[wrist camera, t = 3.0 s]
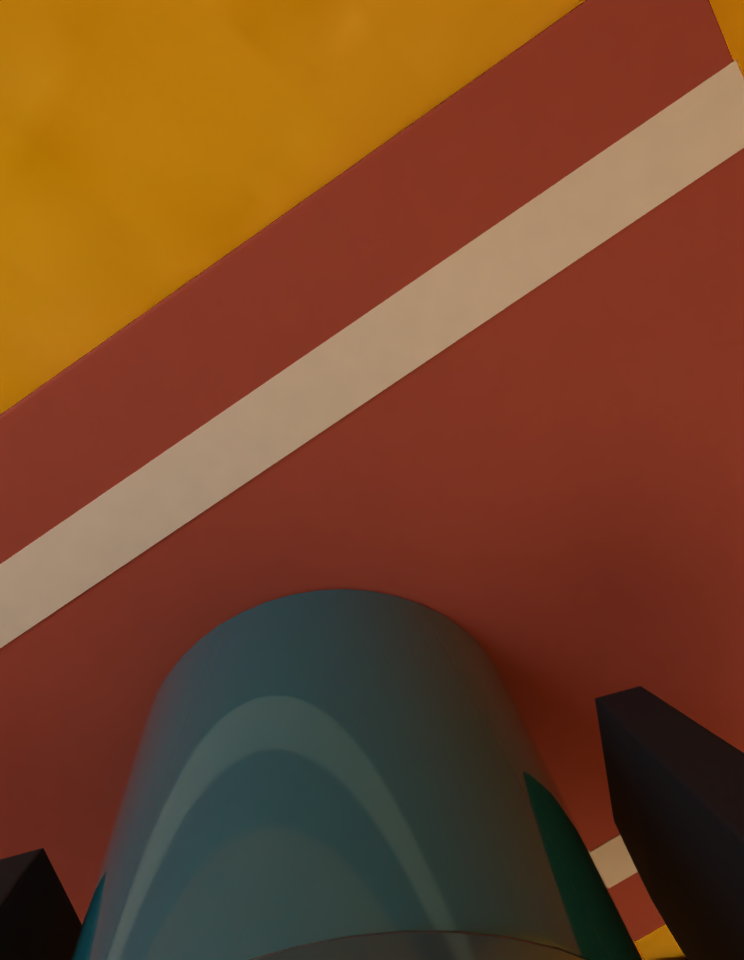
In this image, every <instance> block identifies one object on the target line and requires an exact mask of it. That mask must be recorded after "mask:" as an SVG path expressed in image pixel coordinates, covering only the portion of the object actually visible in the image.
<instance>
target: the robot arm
mask: <svg viewBox="0 0 744 960" xmlns="http://www.w3.org/2000/svg"><path fill="white" fill-rule="evenodd" d="M595 703H596V709H597V716H598V722H599V729H600V735H601V742H602V748H603V755H604V761H605V768H606V774H607V780H608V787H609V793H610V800H611V806H612V813H613V819H614V822H615V825H616V827H617V829H618V831H619V833H620V835H621V837H622V839H623V842H624V844H625V846H626V848H627V850H628V852H629V854H630V857H631V859H632V861H633V863H634V865H635V867H636V869H637V871H638V873H639V875H640V877H641V879H642V881H643V883H644V886H645V888H646V890H647V892H648V894H649V896H650V898H651V900H652V902H653V903H654V905H655V907H656V908H657V910H658V912H659V913H660V915H661V917H662V918H663V920H664V922H665V923H666V925H667V927H668V928H669V930H670V932H671V933H672V935H673V937H674V938H675V940H676V942H677V943H678V945H679V947H680V948H681V950H682V951H683V953H684V955H685V956H686V958H687V960H744V753H743V752H742V751H740V750H739V749H737V748H735V747H734V746H732V745H731V744H729V743H728V742H726V741H725V740H723V739H721V738H720V737H718V736H717V735H715V734H714V733H712V732H711V731H709V730H708V729H706V728H704V727H703V726H701V725H700V724H698V723H697V722H695V721H694V720H692V719H691V718H689V717H688V716H686V715H685V714H683V713H682V712H680V711H679V710H677V709H676V708H674V707H673V706H671V705H669V704H668V703H666V702H665V701H663V700H662V699H660V698H659V697H657V696H656V695H654V694H653V693H651V692H649V691H648V690H646V689H645V688H643V687H641V686H638V687H635V688H631V689H627V690H624V691H620V692H616V693H613V694H609V695H605V696H601V697H598V698H595ZM81 928H82V924H81V922H80V920H79V918H78V916H77V914H76V912H75V910H74V908H73V906H72V904H71V902H70V900H69V898H68V896H67V894H66V892H65V890H64V888H63V886H62V884H61V882H60V880H59V878H58V876H57V874H56V872H55V870H54V868H53V866H52V864H51V862H50V860H49V858H48V856H47V854H46V852H45V850H44V848H41V849H37V850H33V851H30V852H26V853H22V854H19V855H15V856H11V857H7V858H4V859H0V960H72V957H73V954H74V950H75V947H76V944H77V941H78V937H79V934H80V931H81Z"/></svg>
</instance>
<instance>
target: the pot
mask: <svg viewBox="0 0 744 960" xmlns="http://www.w3.org/2000/svg"><path fill="white" fill-rule="evenodd" d="M72 960H644V958H643V956H642V954H641V952H640V950H639V948H638V946H637V944H636V942H635V940H634V938H633V936H632V934H631V932H630V930H629V928H628V926H627V924H626V922H625V920H624V918H623V916H622V914H621V912H620V910H619V908H618V906H617V904H616V902H615V900H614V898H613V896H612V894H611V892H610V890H609V888H608V886H607V884H606V882H605V880H604V878H603V876H602V874H601V872H600V870H599V868H598V866H597V864H596V862H595V860H594V858H593V856H592V854H591V852H590V850H589V848H588V846H587V844H586V842H585V840H584V838H583V836H582V834H581V832H580V830H579V828H578V826H577V824H576V822H575V820H574V818H573V816H572V814H571V812H570V810H569V808H568V806H567V804H566V802H565V800H564V798H563V796H562V794H561V792H560V790H559V788H558V786H557V784H556V782H555V780H554V778H553V776H552V774H551V772H550V770H549V768H548V766H547V764H546V762H545V760H544V758H543V756H542V754H541V752H540V750H539V748H538V746H537V744H536V742H535V740H534V738H533V736H532V734H531V732H530V730H529V728H528V726H527V724H526V722H525V720H524V718H523V716H522V714H521V712H520V710H519V708H518V706H517V704H516V702H515V700H514V698H513V696H512V694H511V692H510V690H509V688H508V686H507V684H506V682H505V680H504V678H503V676H502V674H501V673H500V671H499V669H498V668H497V666H496V664H495V663H494V661H493V659H492V658H491V657H490V656H489V655H488V653H487V652H486V651H485V650H484V648H483V647H482V646H481V645H480V644H479V643H478V642H477V641H476V640H475V639H474V638H473V637H472V636H471V635H470V634H468V633H467V632H466V631H465V630H464V629H463V628H462V627H460V626H459V625H457V624H456V623H454V622H453V621H451V620H450V619H448V618H447V617H445V616H444V615H442V614H440V613H438V612H436V611H434V610H432V609H430V608H428V607H426V606H424V605H422V604H419V603H416V602H413V601H410V600H407V599H404V598H401V597H398V596H394V595H389V594H384V593H379V592H374V591H366V590H354V589H331V590H316V591H310V592H303V593H297V594H292V595H288V596H285V597H281V598H278V599H274V600H271V601H267V602H265V603H262V604H260V605H258V606H255V607H253V608H251V609H248V610H246V611H243V612H241V613H240V614H238V615H236V616H234V617H233V618H231V619H229V620H227V621H226V622H224V623H222V624H220V625H219V626H217V627H216V628H215V629H213V630H212V631H211V632H209V633H208V634H207V635H205V636H204V637H203V638H201V639H200V640H199V641H198V642H197V643H196V644H195V645H194V646H193V647H192V648H190V649H189V650H188V651H187V652H186V653H185V654H184V655H183V656H182V657H181V658H180V660H179V661H178V662H177V663H176V665H175V666H174V667H173V669H172V670H171V671H170V672H169V674H168V675H167V676H166V678H165V679H164V681H163V683H162V685H161V686H160V688H159V690H158V692H157V693H156V695H155V697H154V699H153V702H152V704H151V707H150V710H149V712H148V715H147V717H146V720H145V724H144V727H143V730H142V733H141V737H140V740H139V743H138V746H137V749H136V753H135V756H134V759H133V762H132V766H131V769H130V772H129V775H128V779H127V782H126V785H125V788H124V792H123V795H122V798H121V801H120V805H119V808H118V811H117V814H116V817H115V821H114V824H113V827H112V830H111V834H110V837H109V840H108V843H107V847H106V850H105V853H104V856H103V860H102V863H101V866H100V869H99V873H98V876H97V879H96V882H95V886H94V889H93V892H92V895H91V898H90V902H89V905H88V908H87V911H86V915H85V918H84V921H83V924H82V928H81V931H80V934H79V937H78V941H77V944H76V947H75V950H74V954H73V957H72Z"/></svg>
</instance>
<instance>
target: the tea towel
mask: <svg viewBox="0 0 744 960" xmlns="http://www.w3.org/2000/svg"><path fill="white" fill-rule="evenodd" d="M331 589H354V590H366V591H374V592H379V593H384V594H389V595H394V596H398V597H401V598H404V599H407V600H410V601H413V602H416V603H419V604H422V605H424V606H426V607H428V608H430V609H432V610H434V611H436V612H438V613H440V614H442V615H444V616H445V617H447V618H448V619H450V620H451V621H453V622H454V623H456V624H457V625H459V626H460V627H462V628H463V629H464V630H465V631H466V632H467V633H468V634H470V635H471V636H472V637H473V638H474V639H475V640H476V641H477V642H478V643H479V644H480V645H481V646H482V647H483V648H484V650H485V651H486V652H487V653H488V655H489V656H490V657H491V658H492V659H493V661H494V663H495V664H496V666H497V668H498V669H499V671H500V673H501V674H502V676H503V678H504V680H505V682H506V684H507V686H508V688H509V690H510V692H511V694H512V696H513V698H514V700H515V702H516V704H517V706H518V708H519V710H520V712H521V714H522V716H523V718H524V720H525V722H526V724H527V726H528V728H529V730H530V732H531V734H532V736H533V738H534V740H535V742H536V744H537V746H538V748H539V750H540V752H541V754H542V756H543V758H544V760H545V762H546V764H547V766H548V768H549V770H550V772H551V774H552V776H553V778H554V780H555V782H556V784H557V786H558V788H559V790H560V792H561V794H562V796H563V798H564V800H565V802H566V804H567V806H568V808H569V810H570V812H571V814H572V816H573V818H574V820H575V822H576V824H577V826H578V828H579V830H580V832H581V834H582V836H583V838H584V840H585V842H586V844H587V846H588V848H589V850H590V852H591V854H592V856H593V858H594V860H595V862H596V864H597V866H598V868H599V870H600V872H601V874H602V876H603V878H604V880H605V882H606V884H607V886H608V888H609V890H610V892H611V894H612V896H613V898H614V900H615V902H616V904H617V906H618V908H619V910H620V912H621V914H622V916H623V918H624V920H625V922H626V924H627V926H628V928H629V930H630V932H631V934H632V936H633V938H634V940H635V941H637V940H639V939H640V938H642V937H644V936H646V935H647V934H649V933H651V932H652V931H654V930H656V929H658V928H659V927H661V926H663V925H665V924H666V923H665V922H664V920H663V918H662V917H661V915H660V913H659V912H658V910H657V908H656V907H655V905H654V903H653V902H652V900H651V898H650V896H649V894H648V892H647V890H646V888H645V886H644V883H643V881H642V879H641V877H640V875H639V873H638V871H637V869H636V867H635V865H634V863H633V861H632V859H631V857H630V854H629V852H628V850H627V848H626V846H625V844H624V842H623V839H622V837H621V835H620V833H619V831H618V829H617V827H616V825H615V822H614V819H613V813H612V806H611V800H610V793H609V787H608V780H607V774H606V768H605V761H604V755H603V748H602V742H601V735H600V729H599V722H598V716H597V709H596V703H595V698H598V697H601V696H605V695H609V694H613V693H616V692H620V691H624V690H627V689H631V688H635V687H638V686H641V687H643V688H645V689H646V690H648V691H649V692H651V693H653V694H654V695H656V696H657V697H659V698H660V699H662V700H663V701H665V702H666V703H668V704H669V705H671V706H673V707H674V708H676V709H677V710H679V711H680V712H682V713H683V714H685V715H686V716H688V717H689V718H691V719H692V720H694V721H695V722H697V723H698V724H700V725H701V726H703V727H704V728H706V729H708V730H709V731H711V732H712V733H714V734H715V735H717V736H718V737H720V738H721V739H723V740H725V741H726V742H728V743H729V744H731V745H732V746H734V747H735V748H737V749H739V750H740V751H742V752H743V753H744V78H743V76H742V73H741V71H740V68H739V66H738V63H737V61H736V60H735V61H734V62H733V59H732V57H731V54H730V52H729V49H728V47H727V44H726V42H725V39H724V37H723V34H722V32H721V29H720V27H719V24H718V22H717V19H716V17H715V14H714V12H713V9H712V7H711V4H710V2H709V0H586V1H585V2H583V3H582V4H580V5H579V6H578V7H576V8H575V9H573V10H572V11H571V12H569V13H568V14H566V15H565V16H564V17H562V18H561V19H559V20H558V21H556V22H555V23H554V24H552V25H551V26H549V27H548V28H547V29H545V30H544V31H542V32H541V33H539V34H538V35H537V36H535V37H534V38H532V39H531V40H530V41H528V42H527V43H525V44H524V45H523V46H521V47H520V48H518V49H517V50H515V51H514V52H513V53H511V54H510V55H508V56H507V57H506V58H504V59H503V60H501V61H500V62H499V63H497V64H496V65H494V66H493V67H491V68H490V69H489V70H487V71H486V72H484V73H483V74H482V75H480V76H479V77H477V78H476V79H474V80H473V81H472V82H470V83H469V84H467V85H466V86H465V87H463V88H462V89H460V90H459V91H458V92H456V93H455V94H453V95H452V96H450V97H449V98H448V99H446V100H445V101H443V102H442V103H441V104H439V105H438V106H436V107H435V108H434V109H432V110H431V111H429V112H428V113H426V114H425V115H424V116H422V117H421V118H419V119H418V120H417V121H415V122H414V123H412V124H411V125H409V126H408V127H407V128H405V129H404V130H402V131H401V132H400V133H398V134H397V135H395V136H394V137H393V138H391V139H390V140H388V141H387V142H385V143H384V144H383V145H381V146H380V147H378V148H377V149H376V150H374V151H373V152H371V153H370V154H369V155H367V156H366V157H364V158H363V159H361V160H360V161H359V162H357V163H356V164H354V165H353V166H352V167H350V168H349V169H347V170H346V171H344V172H343V173H342V174H340V175H339V176H337V177H336V178H335V179H333V180H332V181H330V182H329V183H328V184H326V185H325V186H323V187H322V188H320V189H319V190H318V191H316V192H315V193H313V194H312V195H311V196H309V197H308V198H306V199H305V200H304V201H302V202H301V203H299V204H298V205H296V206H295V207H294V208H292V209H291V210H289V211H288V212H287V213H285V214H284V215H282V216H281V217H279V218H278V219H277V220H275V221H274V222H272V223H271V224H270V225H268V226H267V227H265V228H264V229H263V230H261V231H260V232H258V233H257V234H255V235H254V236H253V237H251V238H250V239H248V240H247V241H246V242H244V243H243V244H241V245H240V246H239V247H237V248H236V249H234V250H233V251H231V252H230V253H229V254H227V255H226V256H224V257H223V258H222V259H220V260H219V261H217V262H216V263H214V264H213V265H212V266H210V267H209V268H207V269H206V270H205V271H203V272H202V273H200V274H199V275H198V276H196V277H195V278H193V279H192V280H190V281H189V282H188V283H186V284H185V285H183V286H182V287H181V288H179V289H178V290H176V291H175V292H174V293H172V294H171V295H169V296H168V297H166V298H165V299H164V300H162V301H161V302H159V303H158V304H157V305H155V306H154V307H152V308H151V309H149V310H148V311H147V312H145V313H144V314H142V315H141V316H140V317H138V318H137V319H135V320H134V321H133V322H131V323H130V324H128V325H127V326H125V327H124V328H123V329H121V330H120V331H118V332H117V333H116V334H114V335H113V336H111V337H110V338H109V339H107V340H106V341H104V342H103V343H101V344H100V345H99V346H97V347H96V348H94V349H93V350H92V351H90V352H89V353H87V354H86V355H84V356H83V357H82V358H80V359H79V360H77V361H76V362H75V363H73V364H72V365H70V366H69V367H68V368H66V369H65V370H63V371H62V372H60V373H59V374H58V375H56V376H55V377H53V378H52V379H51V380H49V381H48V382H46V383H45V384H44V385H42V386H41V387H39V388H38V389H36V390H35V391H34V392H32V393H31V394H29V395H28V396H27V397H25V398H24V399H22V400H21V401H19V402H18V403H17V404H15V405H14V406H12V407H11V408H10V409H8V410H7V411H5V412H4V413H3V414H1V415H0V859H4V858H7V857H11V856H15V855H19V854H22V853H26V852H30V851H33V850H37V849H41V848H44V850H45V852H46V854H47V856H48V858H49V860H50V862H51V864H52V866H53V868H54V870H55V872H56V874H57V876H58V878H59V880H60V882H61V884H62V886H63V888H64V890H65V892H66V894H67V896H68V898H69V900H70V902H71V904H72V906H73V908H74V910H75V912H76V914H77V916H78V918H79V920H80V922H81V924H83V921H84V918H85V915H86V911H87V908H88V905H89V902H90V898H91V895H92V892H93V889H94V886H95V882H96V879H97V876H98V873H99V869H100V866H101V863H102V860H103V856H104V853H105V850H106V847H107V843H108V840H109V837H110V834H111V830H112V827H113V824H114V821H115V817H116V814H117V811H118V808H119V805H120V801H121V798H122V795H123V792H124V788H125V785H126V782H127V779H128V775H129V772H130V769H131V766H132V762H133V759H134V756H135V753H136V749H137V746H138V743H139V740H140V737H141V733H142V730H143V727H144V724H145V720H146V717H147V715H148V712H149V710H150V707H151V704H152V702H153V699H154V697H155V695H156V693H157V692H158V690H159V688H160V686H161V685H162V683H163V681H164V679H165V678H166V676H167V675H168V674H169V672H170V671H171V670H172V669H173V667H174V666H175V665H176V663H177V662H178V661H179V660H180V658H181V657H182V656H183V655H184V654H185V653H186V652H187V651H188V650H189V649H190V648H192V647H193V646H194V645H195V644H196V643H197V642H198V641H199V640H200V639H201V638H203V637H204V636H205V635H207V634H208V633H209V632H211V631H212V630H213V629H215V628H216V627H217V626H219V625H220V624H222V623H224V622H226V621H227V620H229V619H231V618H233V617H234V616H236V615H238V614H240V613H241V612H243V611H246V610H248V609H251V608H253V607H255V606H258V605H260V604H262V603H265V602H267V601H271V600H274V599H278V598H281V597H285V596H288V595H292V594H297V593H303V592H310V591H316V590H331Z"/></svg>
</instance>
